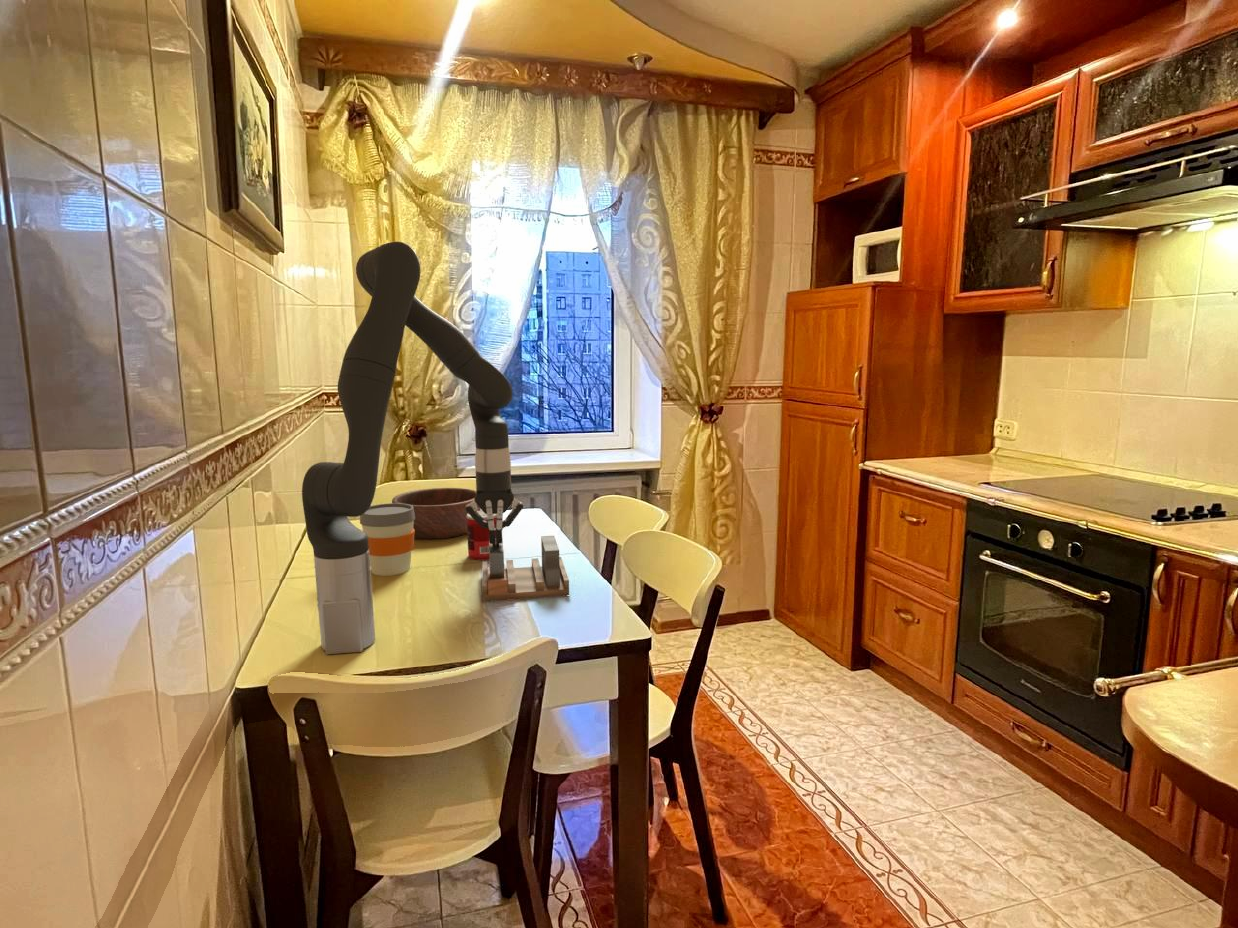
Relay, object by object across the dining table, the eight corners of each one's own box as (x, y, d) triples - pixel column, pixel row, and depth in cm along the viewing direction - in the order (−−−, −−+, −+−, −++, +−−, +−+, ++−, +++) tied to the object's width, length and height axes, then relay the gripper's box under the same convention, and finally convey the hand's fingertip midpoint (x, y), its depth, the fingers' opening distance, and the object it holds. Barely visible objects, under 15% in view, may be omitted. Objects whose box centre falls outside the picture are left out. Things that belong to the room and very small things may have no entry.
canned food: (505, 553, 185) (504, 512, 183) (485, 562, 178) (483, 518, 176) (483, 549, 189) (481, 508, 187) (462, 557, 182) (460, 515, 180)
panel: (504, 588, 154) (503, 552, 153) (490, 589, 153) (489, 553, 152) (503, 571, 166) (502, 537, 164) (490, 571, 165) (489, 538, 164)
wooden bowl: (410, 520, 221) (408, 487, 219) (491, 520, 220) (489, 487, 218) (380, 542, 197) (378, 506, 195) (471, 542, 196) (469, 506, 194)
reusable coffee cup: (402, 579, 166) (398, 516, 163) (352, 576, 168) (348, 514, 165) (427, 563, 178) (423, 504, 175) (380, 560, 180) (376, 502, 178)
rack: (569, 595, 154) (568, 553, 152) (482, 601, 151) (481, 558, 149) (561, 571, 171) (560, 532, 169) (483, 576, 167) (481, 536, 166)
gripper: (461, 472, 150) (464, 552, 153) (524, 469, 153) (527, 548, 156) (462, 466, 158) (465, 542, 161) (523, 463, 160) (525, 538, 163)
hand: (496, 545), depth 158 cm, fingers closed
